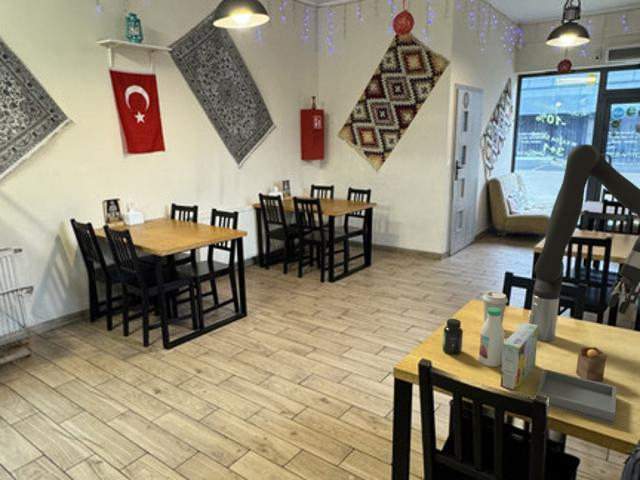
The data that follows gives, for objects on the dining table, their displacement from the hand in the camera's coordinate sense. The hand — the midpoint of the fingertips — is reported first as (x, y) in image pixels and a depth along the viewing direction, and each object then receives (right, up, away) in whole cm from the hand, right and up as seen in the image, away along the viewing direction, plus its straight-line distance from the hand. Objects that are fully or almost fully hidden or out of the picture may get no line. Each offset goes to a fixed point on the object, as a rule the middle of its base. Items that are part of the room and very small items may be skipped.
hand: (615, 309), depth 157 cm
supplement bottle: (-52, -18, +13) cm, 57 cm away
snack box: (-35, -22, -4) cm, 41 cm away
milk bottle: (-41, -20, +5) cm, 46 cm away
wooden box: (-12, -22, -5) cm, 26 cm away
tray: (-24, -25, -18) cm, 39 cm away
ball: (-12, -13, -7) cm, 20 cm away
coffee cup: (-30, -13, +32) cm, 46 cm away
